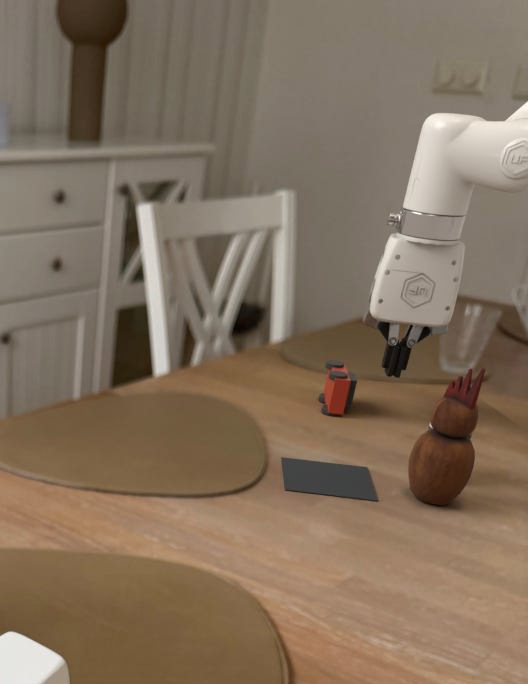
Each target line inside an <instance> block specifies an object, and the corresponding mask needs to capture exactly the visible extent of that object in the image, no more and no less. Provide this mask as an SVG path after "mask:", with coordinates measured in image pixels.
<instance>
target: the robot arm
mask: <svg viewBox="0 0 528 684" xmlns="http://www.w3.org/2000/svg"><path fill="white" fill-rule="evenodd" d="M475 186H481V187H485V188H487V189H488V188H489V189H490V190H491V189H492V190H496V191H499V192H504V193H508V194H509V193H522V192H524V191H525V192H526V191H528V100H527V101H526V102H525V103H524V104H523V105H521V106H520V107H519V108H518V109H517V110H516V111H514V112H513V113H512V114H511V115H510V116H509V117H508V118H507V119H506V120H497V121H496V120H495V121H493V120H486V119H485V118H483V117H480V116H477V115H472V114H463V113H462V114H461V113H451V112H437V113H436V112H435V113H432V114H430V115H429V116H428V117H427V118H426V119H425V120H424V122H423V124H422V127H421V130H420V133H419V137H418V142H417V147H416V150H415V154H414V158H413V163H412V166H411V171H410V175H409V179H408V183H407V188H406V192H405V195H404V200H403V205H402V207H401V208H400V210H398V211H397V212H394V213H393V212H389V213H388V215H387V218H386V225H387V226H392V227H394V228H395V230H396V232H395V233H391V234H390V236H389V238H388V239H387V242H386V244H385V246H384V249H383V251H382V254H381V257H380V260H379V263H378V264H377V265H378V266H377V268H376V272H375V274H374V278H373V281H372V285H371V287H370V290H369V291H370V292H369V295H368V301H367V308H366V310H365V312H364V314H363V317H362V319H361V321H362V323H363V325H364V326H366V327H369V328H372V329H374V330H377V331H379V332H380V333H381V335H382V336H383V338H384V339H385V340H386V344H385V345H386V346H385V349H384V352H383V357H382V361H381V368H382V369H384V373H385V375H386V377H389V378H391V377H394V378H397V379H400V378H401V375H402V374H401V373H402V371H406V370H407V367H408V364H409V360H410V356H411V352H412V349H413V348H415V347H416V345H417V344H419V343H420V342H421V341H423V340H425V339H426V338H427V337H428V336H437V335H445V334H447V332H449V331H448V330H449V323H450V322H451V320H452V317H453V315H454V312H455V308H456V307H455V306H456V303H457V300H458V299H457V298H458V295H459V294H458V293H459V290H460V284H461V279H462V275H463V274H462V273H463V269H464V260H465V252H466V244H465V243H464V242H462V241H460V239H461V235H462V231H463V227H464V224H465V220H466V217H467V213H468V209H469V205H470V202H471V199H472V195H473V191H474V188H475ZM400 325H408V326H407V329H406V331H405V333H404V336H403V337H402V338H401V341H400V340H399V333H400Z"/></svg>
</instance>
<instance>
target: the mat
mask: <svg viewBox="0 0 528 684" xmlns="http://www.w3.org/2000/svg"><path fill="white" fill-rule="evenodd" d="M281 466H282V467H281V468H282V474H283V475H282V477H283V483H284V491H289V492H295V493H296V492H297V493H304V494H312V495H313V494H314V495H322V496H328V497H329V496H330V497H336V498H337V497H338V498H347V499H356V500H363V501H370V502H371V501H372V502H379V500H378V496H377V493H376V490H375V487H374V484H373V480H372V477H371V474H370V471H369V468H368V466H361V465H351V464H343V463H337V462H336V463H335V462H328V461H327V462H326V461H319V460H318V461H317V460H309V459H301V458H292V457H285V456H284V457H283V456H282V457H281Z"/></svg>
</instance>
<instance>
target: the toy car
mask: <svg viewBox="0 0 528 684" xmlns="http://www.w3.org/2000/svg"><path fill="white" fill-rule="evenodd" d="M325 369H327V370H328V371H327V376H326V380H325V384H324V385H325V386H324V389H323V392H322V393H319V395H318V402H320V403H323V405H322V406H321V410H320V412H321V414H323V415H326V416H330V417H336V416H339V415H341V416H342V415H344V412H345V409H351V408H352V405H353V401H354V396H355V393H356V387H357V383H358V379H357V377H356V374H355V373H354V372H348V368H347V366H346V363H344V362H343V361H340V360H337V359H336V360H335V359H329V360H326V362H325Z"/></svg>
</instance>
